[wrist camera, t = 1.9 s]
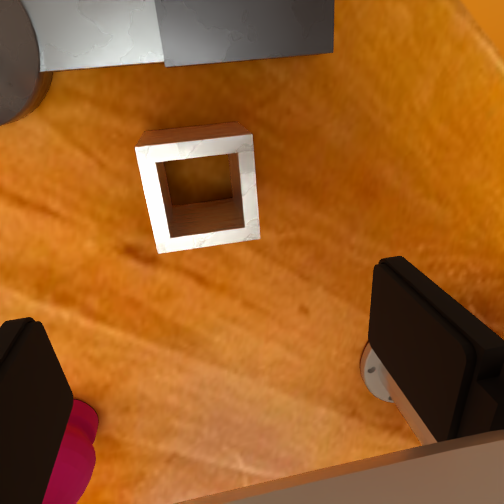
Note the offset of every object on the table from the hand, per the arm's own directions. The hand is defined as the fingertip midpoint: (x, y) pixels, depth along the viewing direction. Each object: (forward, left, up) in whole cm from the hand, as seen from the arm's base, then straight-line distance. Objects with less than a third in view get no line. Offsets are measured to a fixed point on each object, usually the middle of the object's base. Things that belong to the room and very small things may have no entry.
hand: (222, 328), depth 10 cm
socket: (0, 0, -18) cm, 18 cm away
